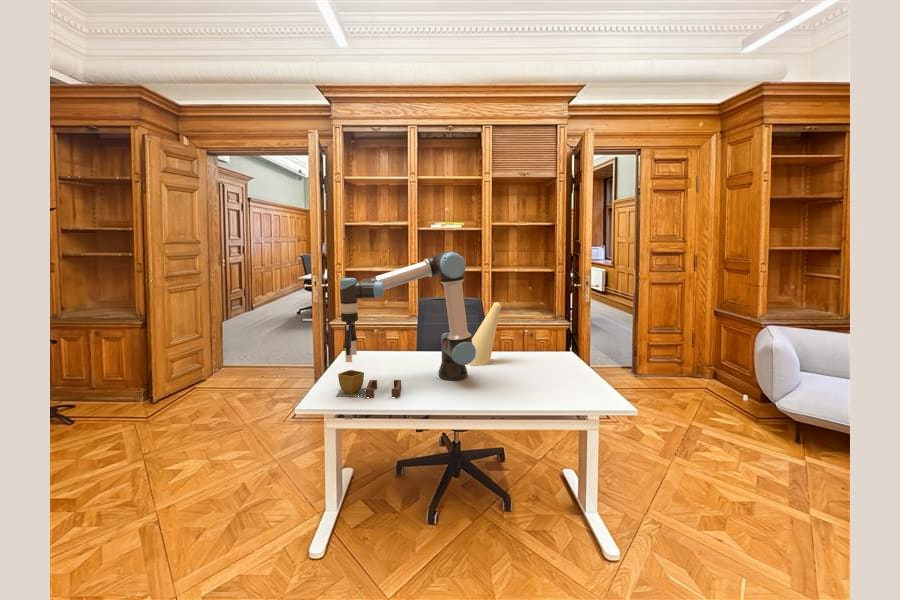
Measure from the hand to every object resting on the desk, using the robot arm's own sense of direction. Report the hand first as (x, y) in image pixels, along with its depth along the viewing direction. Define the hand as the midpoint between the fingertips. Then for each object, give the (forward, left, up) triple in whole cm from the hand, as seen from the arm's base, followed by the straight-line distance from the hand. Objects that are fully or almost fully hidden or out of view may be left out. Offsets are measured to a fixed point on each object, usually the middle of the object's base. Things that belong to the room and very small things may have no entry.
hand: (351, 358), depth 228 cm
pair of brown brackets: (-15, 0, -17) cm, 22 cm away
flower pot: (0, 0, -16) cm, 16 cm away
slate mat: (0, 0, -17) cm, 17 cm away
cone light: (-64, -55, -17) cm, 86 cm away
